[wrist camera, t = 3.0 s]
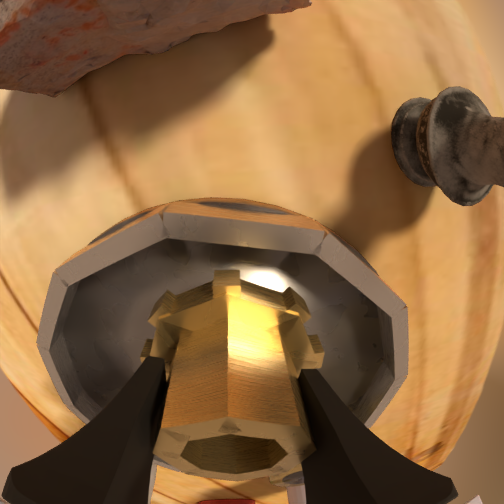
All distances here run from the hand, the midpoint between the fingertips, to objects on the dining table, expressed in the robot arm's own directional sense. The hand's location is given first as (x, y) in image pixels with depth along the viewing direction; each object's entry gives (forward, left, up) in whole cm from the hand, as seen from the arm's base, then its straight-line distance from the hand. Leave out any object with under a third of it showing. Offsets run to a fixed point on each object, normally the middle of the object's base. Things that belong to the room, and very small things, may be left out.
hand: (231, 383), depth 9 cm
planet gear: (0, 0, -2) cm, 2 cm away
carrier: (-5, +3, -6) cm, 9 cm away
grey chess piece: (+5, -14, -6) cm, 16 cm away
